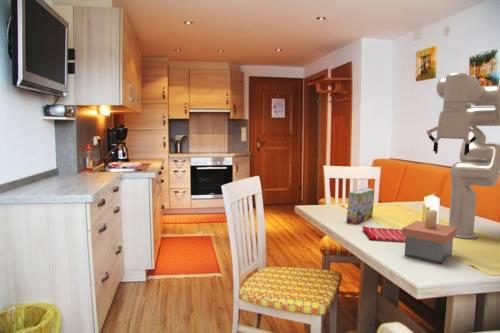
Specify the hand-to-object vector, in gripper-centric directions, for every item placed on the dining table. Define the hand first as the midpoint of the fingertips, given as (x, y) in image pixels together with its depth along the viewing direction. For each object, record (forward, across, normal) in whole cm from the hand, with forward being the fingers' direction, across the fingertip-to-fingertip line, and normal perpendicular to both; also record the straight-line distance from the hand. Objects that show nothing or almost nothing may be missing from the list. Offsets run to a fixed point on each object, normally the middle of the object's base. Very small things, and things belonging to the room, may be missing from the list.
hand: (450, 154), depth 142 cm
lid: (+29, +5, +12) cm, 31 cm away
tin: (+36, +5, +11) cm, 38 cm away
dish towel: (+36, +18, -9) cm, 42 cm away
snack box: (+35, +36, -32) cm, 60 cm away
